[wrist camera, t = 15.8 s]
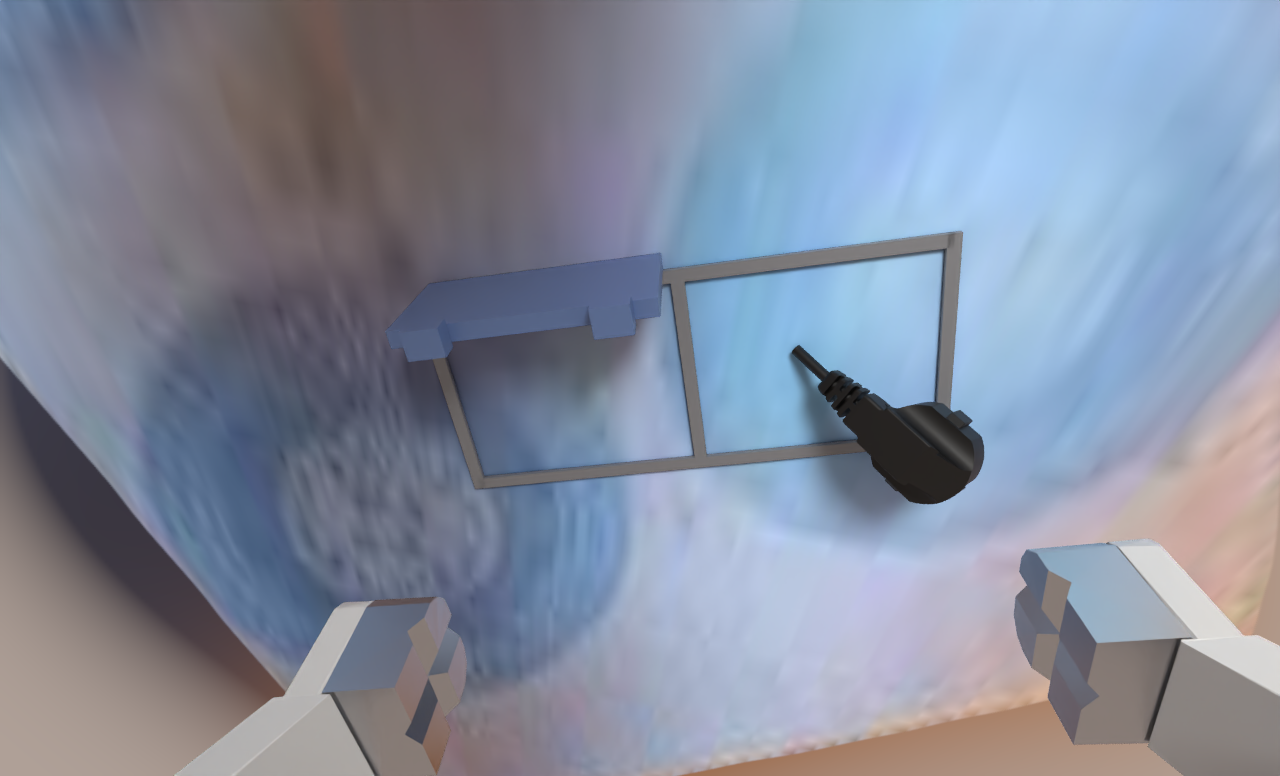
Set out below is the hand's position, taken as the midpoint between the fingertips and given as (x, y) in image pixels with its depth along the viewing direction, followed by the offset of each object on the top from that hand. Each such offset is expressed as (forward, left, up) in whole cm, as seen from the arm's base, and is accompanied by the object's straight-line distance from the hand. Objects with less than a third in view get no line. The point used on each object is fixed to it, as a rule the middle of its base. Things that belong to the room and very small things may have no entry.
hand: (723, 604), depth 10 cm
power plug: (+13, +7, -33) cm, 36 cm away
